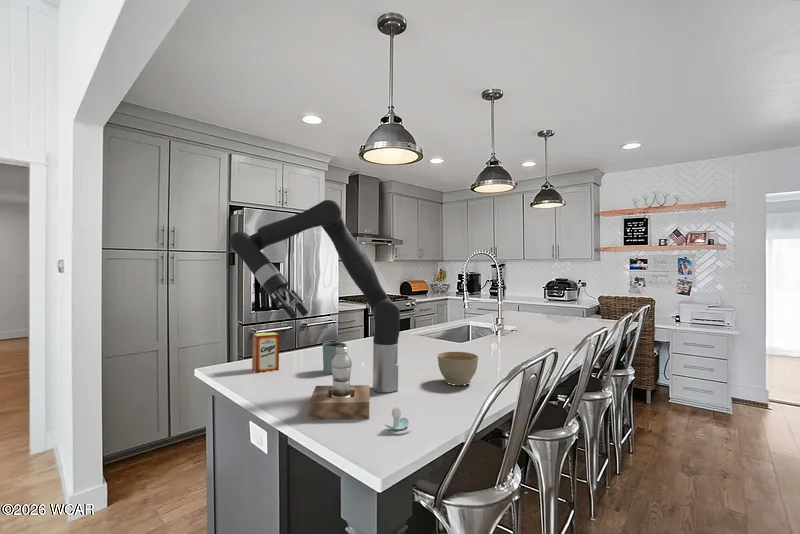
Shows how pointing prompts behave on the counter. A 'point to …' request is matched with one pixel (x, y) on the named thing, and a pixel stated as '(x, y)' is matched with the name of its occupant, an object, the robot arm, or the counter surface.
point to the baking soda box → (265, 352)
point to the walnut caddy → (339, 404)
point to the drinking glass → (329, 355)
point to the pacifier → (398, 423)
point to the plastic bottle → (341, 372)
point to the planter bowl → (457, 366)
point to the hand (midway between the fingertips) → (300, 315)
